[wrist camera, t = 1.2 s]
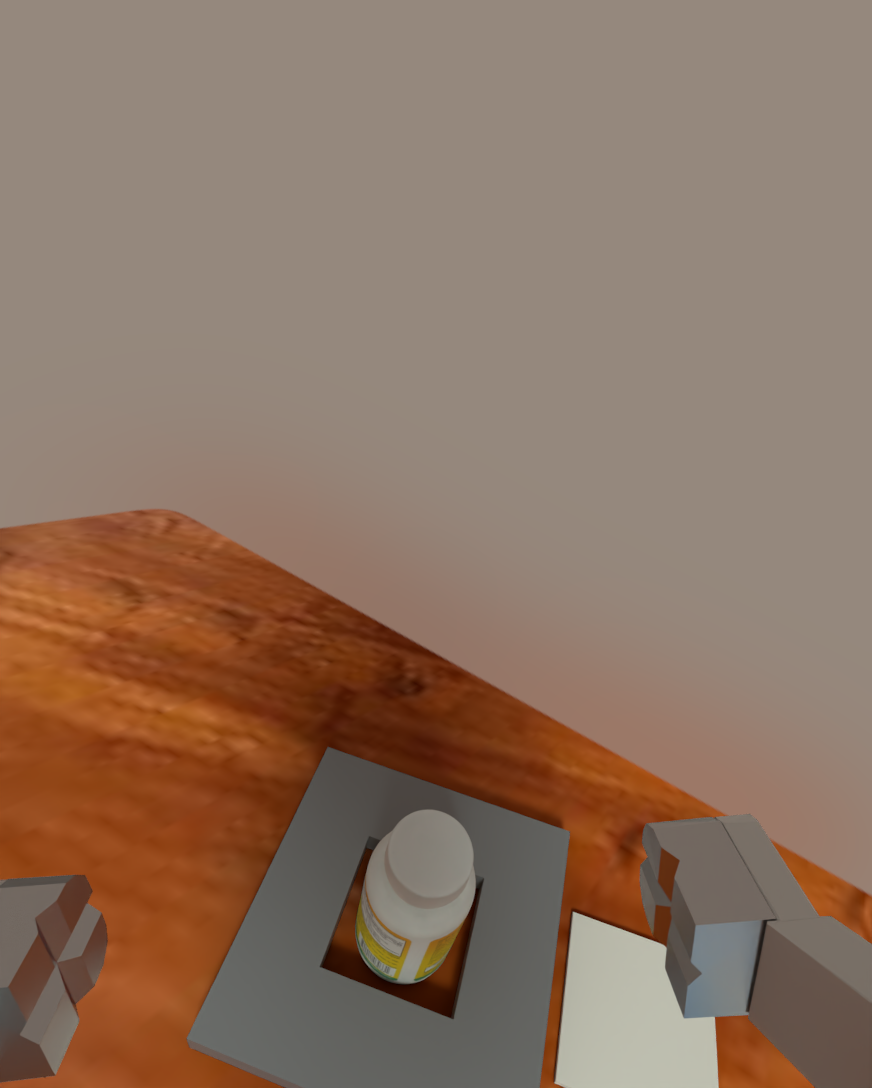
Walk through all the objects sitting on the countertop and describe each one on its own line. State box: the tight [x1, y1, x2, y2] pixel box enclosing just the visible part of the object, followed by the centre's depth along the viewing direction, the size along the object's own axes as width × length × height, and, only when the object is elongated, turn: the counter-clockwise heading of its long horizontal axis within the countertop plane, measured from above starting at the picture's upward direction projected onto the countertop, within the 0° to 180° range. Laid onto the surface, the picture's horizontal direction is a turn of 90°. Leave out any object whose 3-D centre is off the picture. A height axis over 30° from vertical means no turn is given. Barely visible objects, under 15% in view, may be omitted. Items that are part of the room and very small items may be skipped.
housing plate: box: [187, 747, 570, 1088], centre depth 35 cm, size 16×16×2 cm
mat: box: [554, 912, 719, 1088], centre depth 34 cm, size 8×8×1 cm
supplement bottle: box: [355, 809, 476, 984], centre depth 32 cm, size 5×5×10 cm
